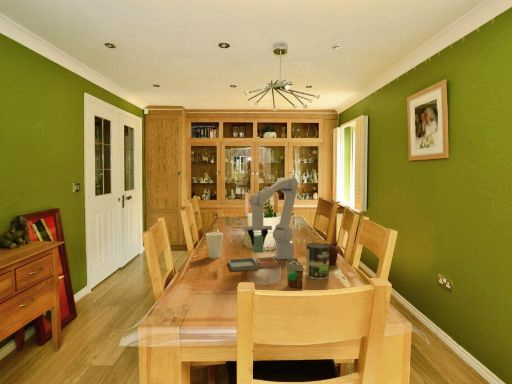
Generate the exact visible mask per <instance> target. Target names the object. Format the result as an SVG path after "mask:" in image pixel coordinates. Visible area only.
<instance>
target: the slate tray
mask: <svg viewBox="0 0 512 384" xmlns="http://www.w3.org/2000/svg"><path fill="white" fill-rule="evenodd" d="M227 264H228V266H229V268H230V269H231V272H238V271H240V272H241V271H254V270H260V268H259V265H258V263H257V262H256V259H255V258H253V257H246V258H244V257H242V258H241V257H240V258H230V259H229V258H228V262H227Z"/></svg>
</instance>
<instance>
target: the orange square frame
mask: <svg viewBox="0 0 512 384" xmlns="http://www.w3.org/2000/svg"><path fill="white" fill-rule="evenodd" d="M255 261H256V262H257V263H258V265H259V269H260V268H261V269H262V268H273V267H275V268H277V267H278V265H279V264H278V263H279V262H278V260H277V259H275V257H274V256H265V257H255Z"/></svg>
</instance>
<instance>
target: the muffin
mask: <svg viewBox="0 0 512 384" xmlns="http://www.w3.org/2000/svg"><path fill="white" fill-rule="evenodd" d="M324 244H327V245H329V246H330V247H329V267H330V266H335V265H336V264H337V261H338V256H339V255H338V254H339V249H338V248H337V247H336V246H335V245H333V243H324Z"/></svg>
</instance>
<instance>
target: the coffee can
mask: <svg viewBox="0 0 512 384" xmlns="http://www.w3.org/2000/svg"><path fill="white" fill-rule="evenodd" d="M305 246H306V264H305V265H306V268H305V269H306V272H305V275H306V277H307V278H309V279H311V280H317V281H318V280H326V279H328V278H330V266H329V247H330V246H329V245H327V244H325V243H320V242H313V243H312V242H311V243H307V244H306V245H305Z"/></svg>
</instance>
